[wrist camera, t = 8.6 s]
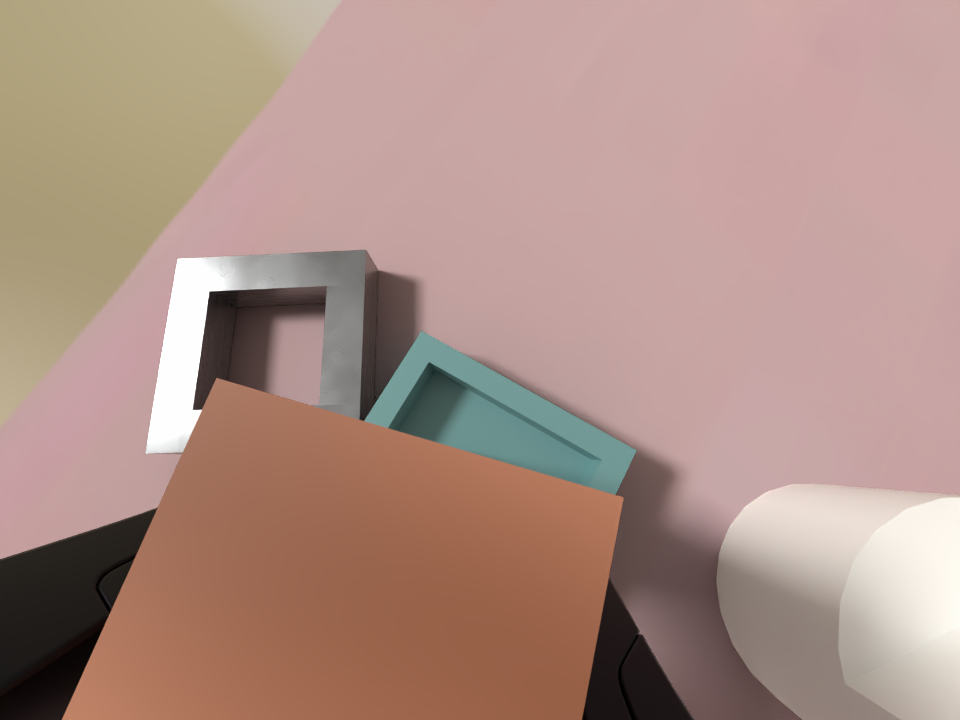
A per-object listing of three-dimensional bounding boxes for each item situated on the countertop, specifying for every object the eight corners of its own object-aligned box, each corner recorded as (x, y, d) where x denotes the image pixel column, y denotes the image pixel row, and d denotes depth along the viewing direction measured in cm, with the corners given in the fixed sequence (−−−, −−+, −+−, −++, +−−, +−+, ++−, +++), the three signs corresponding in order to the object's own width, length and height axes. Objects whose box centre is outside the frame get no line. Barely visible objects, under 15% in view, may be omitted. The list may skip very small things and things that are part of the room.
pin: (494, 561, 15) (505, 1119, 2) (404, 533, 15) (-13, 885, 3) (518, 467, 16) (623, 495, 3) (433, 441, 16) (217, 378, 3)
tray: (617, 451, 18) (636, 450, 15) (510, 671, 16) (513, 709, 13) (430, 346, 19) (421, 330, 17) (311, 536, 17) (282, 549, 15)
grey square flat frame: (372, 447, 18) (358, 445, 16) (182, 454, 18) (145, 453, 16) (378, 269, 20) (366, 249, 18) (207, 277, 21) (177, 258, 19)
